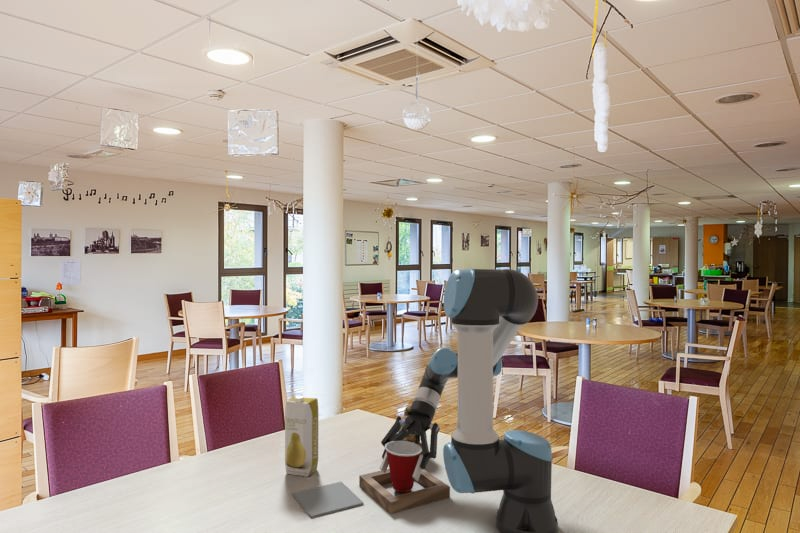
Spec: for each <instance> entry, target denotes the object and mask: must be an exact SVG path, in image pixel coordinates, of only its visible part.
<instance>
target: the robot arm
mask: <svg viewBox="0 0 800 533" xmlns="http://www.w3.org/2000/svg"><path fill="white" fill-rule="evenodd" d="M538 305H539V295H538V291H537V288H536V286H535V285H534V282H533V281H532V280H531V279H530V278H529V277H528V276H527V275H526V274H525V273H523V272H520V271H518V270H515V269H511V268H510V269H509V268H504V269H503V268H502V269H501V268H500V269H496V268H494V269H490V268H486V269H484V268H465V269H455V271H453V272H451V273H450V275H449V276H448V279H447V281H446V284H445V287H444V292H443V310H444V314H445V316H446V317H448V318H450V319H451V325H452V326H453V327H454V328H455V329H456V331H457V352H456V351H454V350H453V349H451V348H449V347H440V348H439V349H436V351H435V352H434V353H433V355H431V357H430V360H429V361H428V363H427V365H426V367H425V369H424V372H423V375H422V378H421V381H420V383H419V386H418V388H417V390H416V393H415V395H414V398H413V402H412V403H411V404H412V405H411V408H410V410H409V415H408V416H407V417H406V418H401V417H402V416H400V415H398V416H397V417H396V419H395V421H394V424H392V426H391V428H390V429H389V430H388V431H387V433H386V434H385V436H384V438H383V439H382V440H381V442H380V443H381V445H382V446H383V447H384V448H385V445H386V444H387V443H388V442H392V441H402V440H403V439H404V438H405V437H406V436H409V435H410V434H416V435H419V436H420V443H421V444H422V449H423V455H420V457H419V460H418V462H417V465H416V468H415V471H414V473H413V476H412V477H413V478H414V482H415V481H416V482H418V480H419V477H420V474H421V471H422V469H424V470H426V467H427V466H428V462H429V460H430V459H433V460H434V459H436V458H437V451H438V450H437V449H438V434H439V432H440V426H439V424H438V423H437V422H434V423H433V420H434V417H435V414H436V410H437V408H438V407H439V406H438V405H439V402H440V400H441V397H442V395H443V392H444V388H445V386H446V384H447V382H448V380H449V379H455V378H456V379H457V426H456V428H455V429H454V430H453V432H451V437H450V438H451V441H450V442H447V443H445V444H444V445H443V450H442V451H443V453H442V454H443V463H444V464H443V465H444V467H445V472H446V476H447V479H448V482H449V483H450V487H452V489H453V491H455V492H457V493H459V494H477V493H485V492H486V493H487V492H496V491H503V493H502V497H501V500H500V503H499V507H498V509H497V510H496V514H495V526H496V528H497V530H498V531H499V532H500V533H558V532H559V521H558V518H557V516H556V512H555V507H554V505H553V501H552V471H553V470H552V468H553V465H552V464H553V453H552V445H551V442H550V441H549V440H548V439H547V438H545V437H543V436H541V435H539V434H537V433H533V432H529V431H525V430H520V429H519V430H518V429H511V430H508V431H505V432H504V434H503V436H502V438H503V439H500V435H499V434H498V433H497V432H496V431H495V429H494V408H493V407H494V377H495V376H499V375H500V374H501V372H502V368H503V360H502V356H503V355H504V353H505V351H506V350H507V348H508V347H509V346H510V344H511V342H512V341H513V340H514V338H515V336H516V335H517V333H518V332H519V331H520V329H521V327H522V326H524V325H526V324H528V323H529V322H530V321H531V320H532V318H533V317H534V315H535V314H536V311H537V309H538ZM404 423H406V425H405V426H403V424H404ZM402 426H403V427H402ZM401 427H402V430H401V431H400V432H398V431H399V430H400V428H401ZM429 429H430V439H429V440H430V442H429V443H430V444H429V445H428V439H427V437H428V435H427V433H426V432H427V431H429ZM406 430H408V431H406ZM381 459H382V461H381V464H380V466H379V471H382V472H383V473H385V472H386V470H387V469H388V468H389V462H388V457H387V452H386V450H385V449H384V451H383V453H382V455H381Z"/></svg>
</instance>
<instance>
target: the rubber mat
mask: <svg viewBox="0 0 800 533" xmlns="http://www.w3.org/2000/svg"><path fill="white" fill-rule="evenodd" d="M291 494H292V496H293V497H294V498H295V500H296V501H297V502H298V504H299V505H300V506H301V507H302V508H303V509H304V511H305V512H306V514H308V516H309V517H310V518H316V517H320V516H324V515H328V514H332V513H335V512H336V513H337V512H339V511H343V510H347V509H352V508H354V507H355V508H356V507H360V506H363V505H365V504H364V503H365V502H363V501H362V500H361V498H359V497H358V496H357V495H356V493H355V492H353V491H352V490H351V489H350V488H349V487H348V486H347V485H345V483H343V482H342V481H338V482H334V483H333V482H332V483H329V484H324V485H320V486H316V487H312V488H307V489H304V490H303V489H302V490H298V491H293V492H292V493H291Z"/></svg>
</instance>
